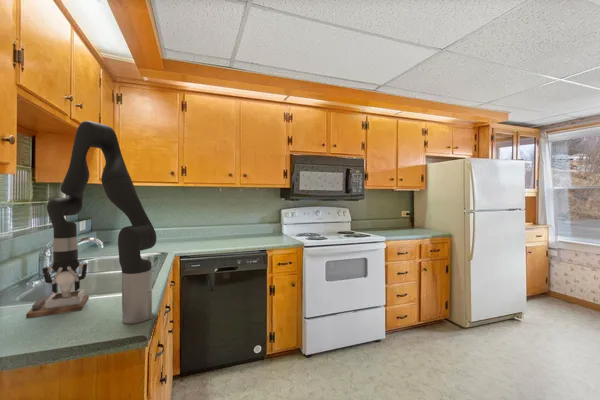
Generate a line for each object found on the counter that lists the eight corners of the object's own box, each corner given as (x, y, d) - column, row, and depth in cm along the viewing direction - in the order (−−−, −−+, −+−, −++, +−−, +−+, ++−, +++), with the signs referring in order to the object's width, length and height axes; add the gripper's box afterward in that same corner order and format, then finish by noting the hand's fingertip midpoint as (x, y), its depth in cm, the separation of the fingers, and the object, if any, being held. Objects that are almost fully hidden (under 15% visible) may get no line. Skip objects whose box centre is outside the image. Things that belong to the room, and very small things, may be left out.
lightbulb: (52, 299, 112) (52, 271, 112) (71, 294, 118) (71, 267, 117) (60, 302, 109) (60, 273, 109) (79, 296, 115) (79, 269, 114)
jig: (88, 297, 123) (88, 287, 122) (81, 309, 110) (81, 298, 110) (39, 304, 115) (39, 293, 115) (26, 318, 103) (25, 305, 103)
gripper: (38, 252, 106) (39, 297, 107) (86, 248, 113) (87, 291, 113) (44, 248, 113) (45, 291, 113) (89, 245, 120) (90, 286, 120)
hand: (66, 291), depth 113 cm, fingers closed on lightbulb, 5 cm apart
